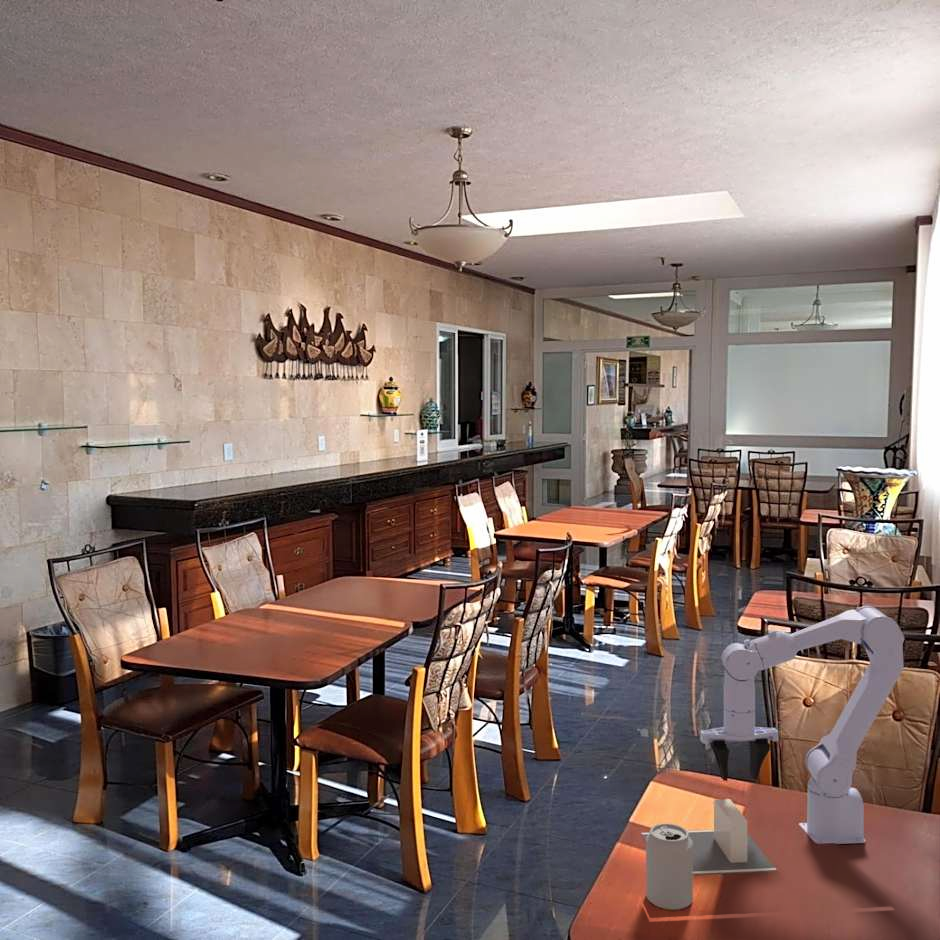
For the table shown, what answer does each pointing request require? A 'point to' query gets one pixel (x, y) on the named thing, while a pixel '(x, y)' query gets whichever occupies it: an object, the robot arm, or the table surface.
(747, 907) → the table surface
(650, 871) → the can
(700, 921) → the table surface
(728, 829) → the white rectangular block
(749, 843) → the mat
